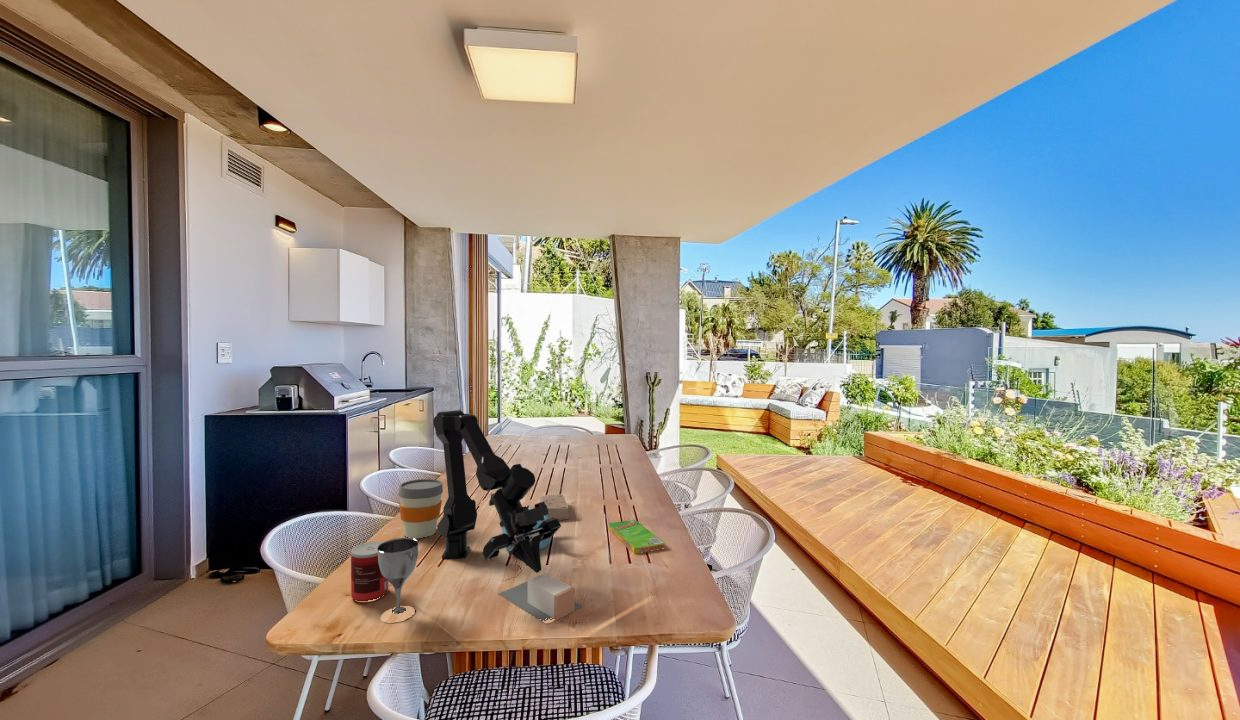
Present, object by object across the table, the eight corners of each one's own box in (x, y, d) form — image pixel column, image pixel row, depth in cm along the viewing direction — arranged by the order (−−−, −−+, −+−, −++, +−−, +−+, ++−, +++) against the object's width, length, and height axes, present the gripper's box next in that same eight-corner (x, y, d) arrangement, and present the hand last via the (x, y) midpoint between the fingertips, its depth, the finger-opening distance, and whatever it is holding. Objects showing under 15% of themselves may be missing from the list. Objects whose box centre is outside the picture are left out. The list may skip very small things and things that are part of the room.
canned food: (378, 583, 118) (378, 538, 118) (394, 594, 113) (394, 547, 113) (345, 595, 112) (344, 548, 112) (360, 607, 107) (360, 558, 107)
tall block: (527, 580, 109) (556, 596, 102) (545, 573, 113) (574, 588, 106) (527, 602, 109) (556, 620, 102) (545, 594, 113) (574, 610, 106)
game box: (633, 558, 136) (606, 529, 155) (664, 553, 140) (634, 525, 159) (634, 547, 136) (607, 519, 155) (665, 543, 140) (635, 516, 159)
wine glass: (423, 604, 109) (423, 537, 109) (409, 624, 101) (409, 552, 101) (387, 604, 109) (387, 537, 108) (370, 624, 101) (370, 552, 100)
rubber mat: (497, 596, 113) (497, 593, 113) (533, 581, 120) (533, 579, 120) (547, 627, 101) (547, 624, 100) (583, 609, 108) (583, 606, 108)
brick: (539, 506, 177) (539, 493, 176) (562, 505, 179) (562, 492, 178) (544, 523, 161) (544, 509, 160) (569, 521, 163) (569, 507, 162)
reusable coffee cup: (450, 528, 154) (451, 480, 154) (425, 542, 142) (426, 491, 142) (415, 524, 157) (416, 477, 157) (388, 538, 145) (389, 487, 145)
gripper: (490, 501, 106) (519, 568, 99) (556, 484, 120) (587, 541, 113) (470, 528, 112) (497, 592, 105) (536, 508, 126) (564, 564, 118)
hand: (539, 571), depth 110 cm, fingers closed
